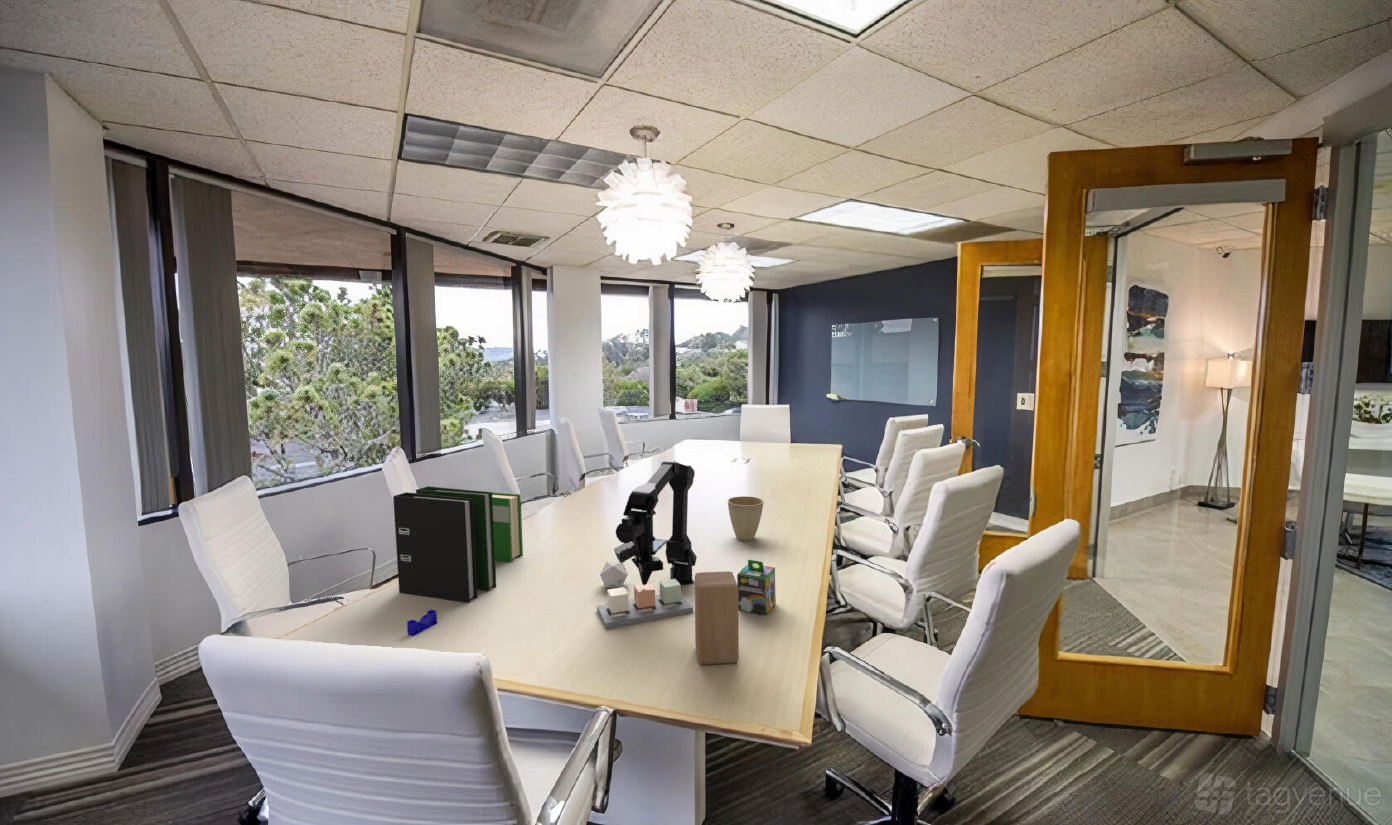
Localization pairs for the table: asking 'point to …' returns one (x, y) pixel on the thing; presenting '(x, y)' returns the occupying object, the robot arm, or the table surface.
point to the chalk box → (756, 588)
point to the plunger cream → (618, 600)
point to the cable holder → (422, 623)
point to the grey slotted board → (643, 613)
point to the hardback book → (507, 526)
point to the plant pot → (745, 516)
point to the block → (716, 618)
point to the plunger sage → (670, 591)
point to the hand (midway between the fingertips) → (644, 584)
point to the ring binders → (445, 543)
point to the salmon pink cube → (644, 595)
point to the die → (613, 574)
